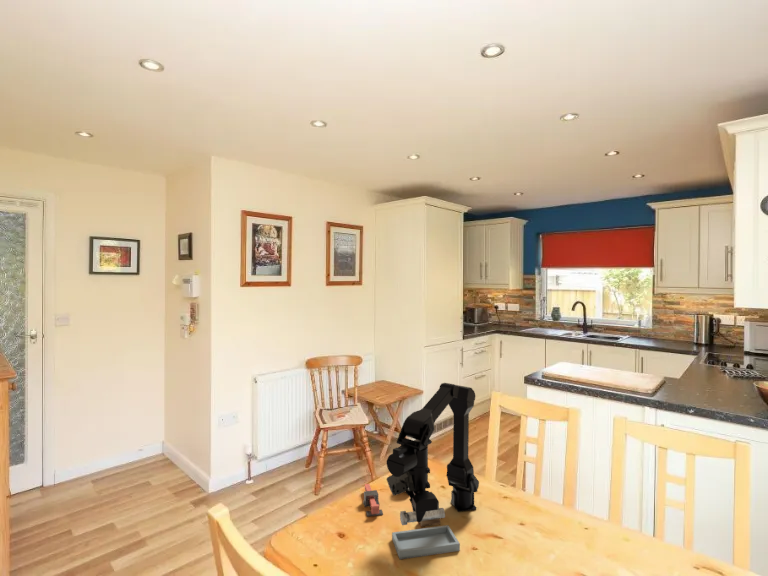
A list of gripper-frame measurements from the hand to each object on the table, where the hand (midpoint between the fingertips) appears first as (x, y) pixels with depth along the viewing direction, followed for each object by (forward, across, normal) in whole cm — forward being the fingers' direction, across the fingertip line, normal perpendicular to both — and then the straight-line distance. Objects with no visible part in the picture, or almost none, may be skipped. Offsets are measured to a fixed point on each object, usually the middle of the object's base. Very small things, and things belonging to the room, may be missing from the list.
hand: (417, 518), depth 112 cm
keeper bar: (+8, -24, -9) cm, 27 cm away
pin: (+1, 0, +2) cm, 2 cm away
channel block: (+8, -12, +7) cm, 16 cm away
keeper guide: (+8, -21, -9) cm, 24 cm away
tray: (+8, 0, +2) cm, 8 cm away
